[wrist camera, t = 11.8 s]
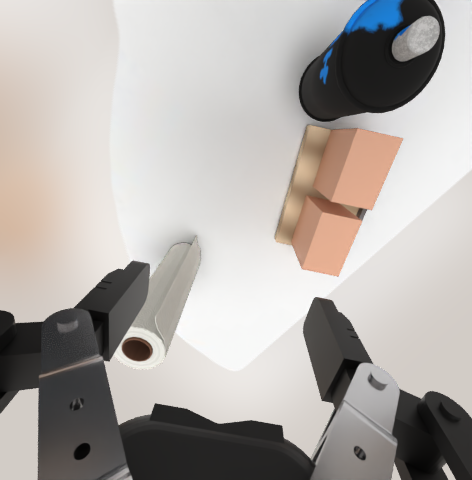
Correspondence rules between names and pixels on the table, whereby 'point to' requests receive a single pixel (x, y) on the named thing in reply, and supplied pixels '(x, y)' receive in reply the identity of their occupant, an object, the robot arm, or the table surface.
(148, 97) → the table surface
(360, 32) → the aerosol can
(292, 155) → the table surface
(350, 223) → the carton
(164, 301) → the paper towel roll
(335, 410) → the robot arm
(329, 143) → the carton faced
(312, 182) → the tan flat block
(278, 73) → the table surface
